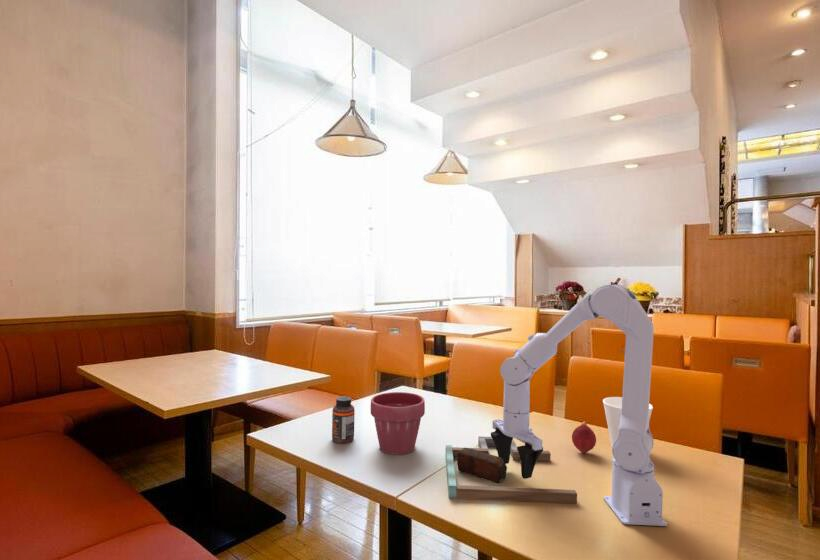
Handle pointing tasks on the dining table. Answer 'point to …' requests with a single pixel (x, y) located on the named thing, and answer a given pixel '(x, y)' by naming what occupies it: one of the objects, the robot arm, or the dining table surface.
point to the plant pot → (397, 420)
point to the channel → (502, 492)
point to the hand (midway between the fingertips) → (515, 470)
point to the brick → (481, 465)
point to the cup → (615, 415)
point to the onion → (584, 438)
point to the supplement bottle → (343, 420)
